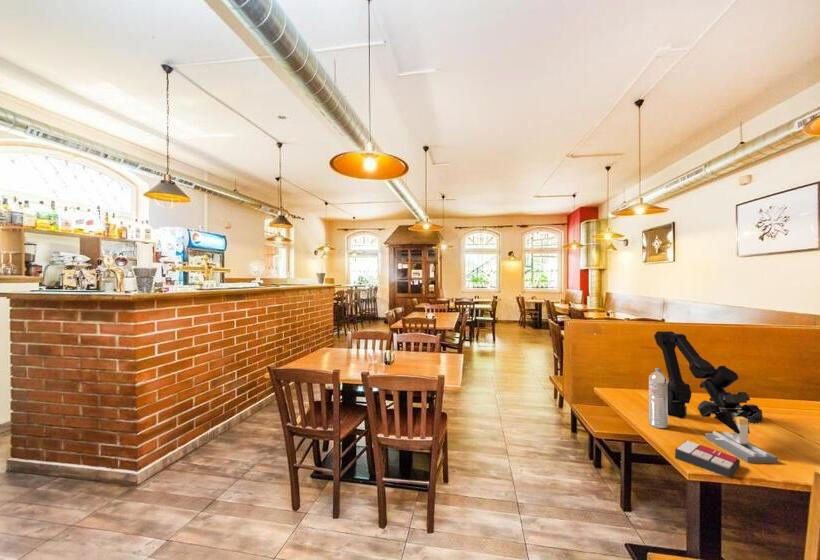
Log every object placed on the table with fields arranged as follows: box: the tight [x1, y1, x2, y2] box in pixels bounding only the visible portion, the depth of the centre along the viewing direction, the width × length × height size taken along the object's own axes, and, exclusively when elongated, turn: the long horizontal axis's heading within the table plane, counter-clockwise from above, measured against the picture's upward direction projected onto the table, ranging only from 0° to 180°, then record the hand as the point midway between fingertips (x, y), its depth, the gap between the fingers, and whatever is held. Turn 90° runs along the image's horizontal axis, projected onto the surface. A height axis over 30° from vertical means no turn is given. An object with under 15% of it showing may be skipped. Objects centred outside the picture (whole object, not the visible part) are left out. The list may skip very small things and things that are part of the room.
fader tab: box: [732, 417, 749, 447], centre depth 127 cm, size 3×3×10 cm
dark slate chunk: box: [697, 400, 764, 425], centre depth 161 cm, size 15×22×5 cm
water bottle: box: [648, 367, 669, 430], centre depth 148 cm, size 7×7×25 cm
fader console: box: [704, 430, 779, 464], centre depth 127 cm, size 18×10×3 cm, turn 177°
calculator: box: [674, 440, 741, 478], centre depth 119 cm, size 11×4×15 cm
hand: (743, 433), depth 125 cm, fingers closed on fader tab, 3 cm apart
